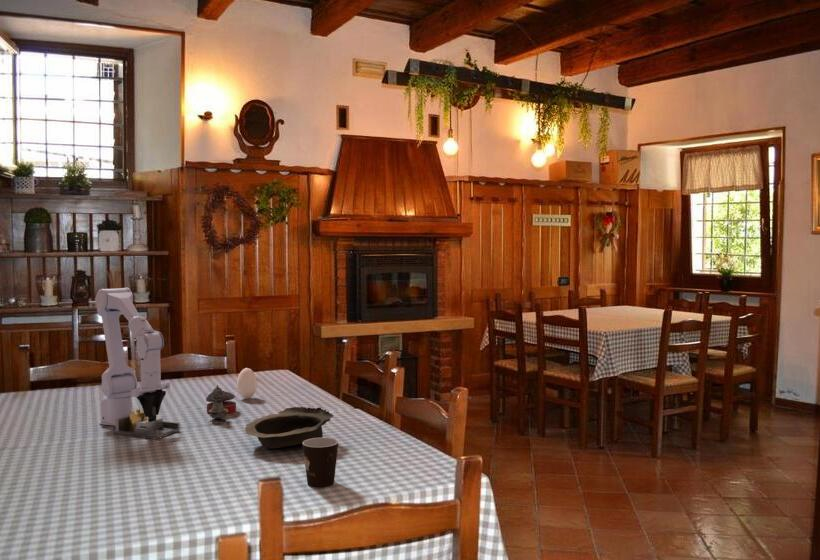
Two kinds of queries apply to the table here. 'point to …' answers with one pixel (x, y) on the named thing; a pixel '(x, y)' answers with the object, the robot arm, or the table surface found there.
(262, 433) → the stone bowl
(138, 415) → the gold bell
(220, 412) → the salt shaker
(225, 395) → the canned food
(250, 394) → the egg
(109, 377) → the robot arm
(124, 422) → the press frame
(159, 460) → the table surface
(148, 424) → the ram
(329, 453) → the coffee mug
